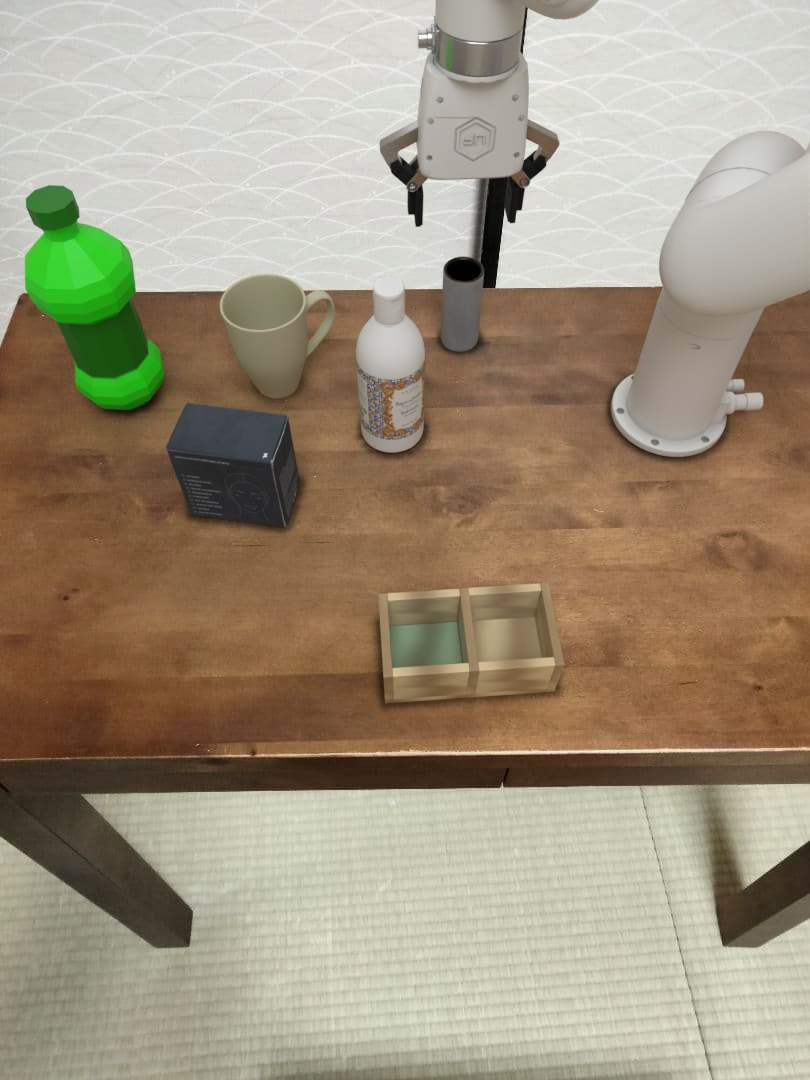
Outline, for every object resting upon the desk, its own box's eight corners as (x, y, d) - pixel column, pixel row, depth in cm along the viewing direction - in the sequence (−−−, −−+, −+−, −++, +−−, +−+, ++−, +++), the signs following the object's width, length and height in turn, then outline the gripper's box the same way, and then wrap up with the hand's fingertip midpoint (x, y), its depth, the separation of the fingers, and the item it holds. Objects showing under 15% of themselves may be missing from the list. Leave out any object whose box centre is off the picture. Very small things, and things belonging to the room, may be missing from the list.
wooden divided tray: (540, 613, 78) (548, 582, 73) (554, 691, 74) (565, 664, 69) (380, 623, 78) (378, 593, 73) (384, 703, 73) (383, 677, 68)
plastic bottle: (190, 374, 96) (128, 178, 75) (142, 438, 90) (62, 246, 70) (116, 352, 98) (37, 156, 77) (66, 413, 93) (-34, 220, 72)
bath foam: (383, 464, 88) (376, 322, 72) (349, 424, 91) (336, 278, 75) (435, 437, 90) (441, 292, 74) (401, 399, 94) (399, 252, 77)
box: (302, 479, 87) (290, 413, 78) (287, 529, 84) (272, 466, 75) (206, 466, 88) (184, 400, 80) (187, 515, 85) (162, 451, 76)
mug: (305, 422, 92) (292, 342, 82) (226, 400, 94) (204, 319, 84) (342, 357, 97) (334, 275, 87) (267, 338, 99) (251, 254, 89)
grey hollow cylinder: (483, 348, 98) (489, 278, 89) (447, 355, 97) (450, 285, 89) (470, 323, 100) (476, 252, 92) (435, 330, 100) (437, 260, 91)
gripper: (380, 69, 68) (383, 243, 83) (584, 63, 69) (551, 236, 83) (375, 25, 72) (378, 198, 87) (568, 20, 73) (539, 192, 87)
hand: (463, 216), depth 85 cm, fingers open, 9 cm apart
